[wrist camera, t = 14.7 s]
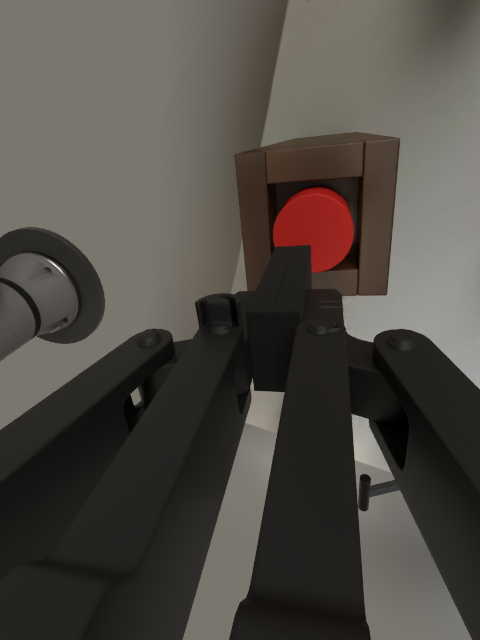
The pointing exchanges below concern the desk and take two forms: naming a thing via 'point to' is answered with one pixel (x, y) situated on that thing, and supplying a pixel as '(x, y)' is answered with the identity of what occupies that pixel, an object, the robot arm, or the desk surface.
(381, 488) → the lever
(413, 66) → the desk surface
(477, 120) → the desk surface
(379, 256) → the button post
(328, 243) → the button
